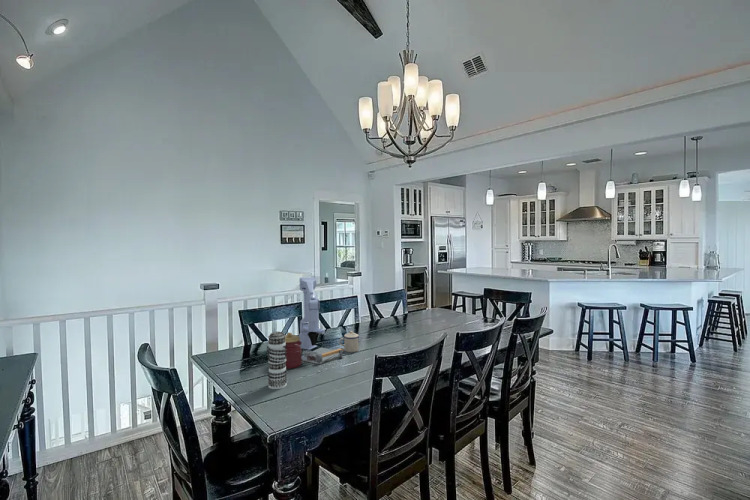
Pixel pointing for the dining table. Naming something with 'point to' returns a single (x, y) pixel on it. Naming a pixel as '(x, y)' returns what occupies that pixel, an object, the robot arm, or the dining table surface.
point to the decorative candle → (277, 360)
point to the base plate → (311, 355)
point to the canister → (293, 351)
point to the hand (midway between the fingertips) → (313, 345)
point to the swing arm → (327, 354)
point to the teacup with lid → (350, 342)
